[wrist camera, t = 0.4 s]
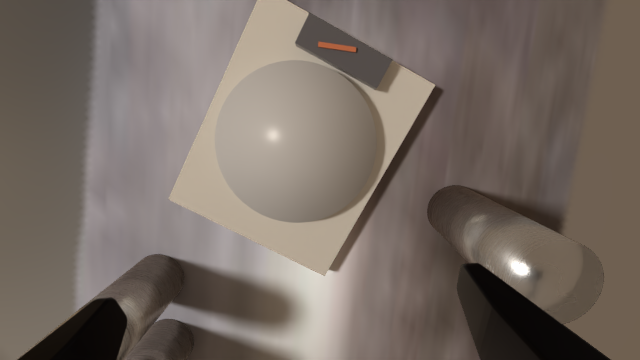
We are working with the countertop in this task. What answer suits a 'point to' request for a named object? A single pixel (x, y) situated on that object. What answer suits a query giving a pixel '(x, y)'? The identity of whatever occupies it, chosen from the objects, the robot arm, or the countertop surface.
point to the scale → (298, 134)
